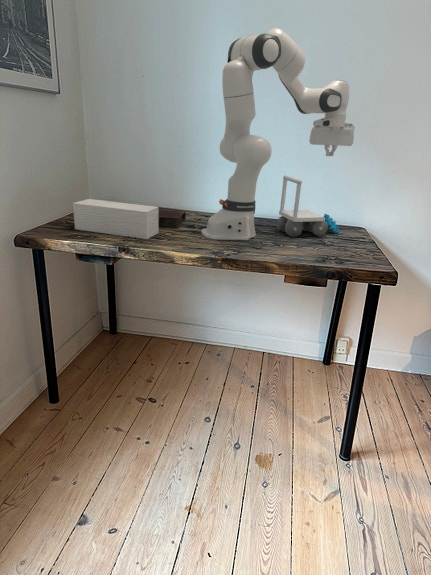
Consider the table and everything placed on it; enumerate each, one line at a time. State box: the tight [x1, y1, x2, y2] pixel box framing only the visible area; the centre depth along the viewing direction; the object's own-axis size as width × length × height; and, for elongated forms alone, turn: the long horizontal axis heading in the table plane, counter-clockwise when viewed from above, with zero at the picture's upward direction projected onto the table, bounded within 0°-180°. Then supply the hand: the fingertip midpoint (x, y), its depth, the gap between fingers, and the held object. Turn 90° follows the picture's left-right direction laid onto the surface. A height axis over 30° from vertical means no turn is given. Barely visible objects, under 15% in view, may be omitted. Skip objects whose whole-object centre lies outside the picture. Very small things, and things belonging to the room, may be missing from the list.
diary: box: [158, 209, 187, 229], centre depth 183 cm, size 19×25×5 cm
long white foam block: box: [72, 198, 160, 240], centre depth 165 cm, size 32×11×11 cm, turn 73°
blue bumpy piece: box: [323, 213, 340, 234], centre depth 183 cm, size 11×6×10 cm
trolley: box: [276, 175, 328, 238], centre depth 173 cm, size 19×14×23 cm
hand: (329, 156), depth 182 cm, fingers closed
